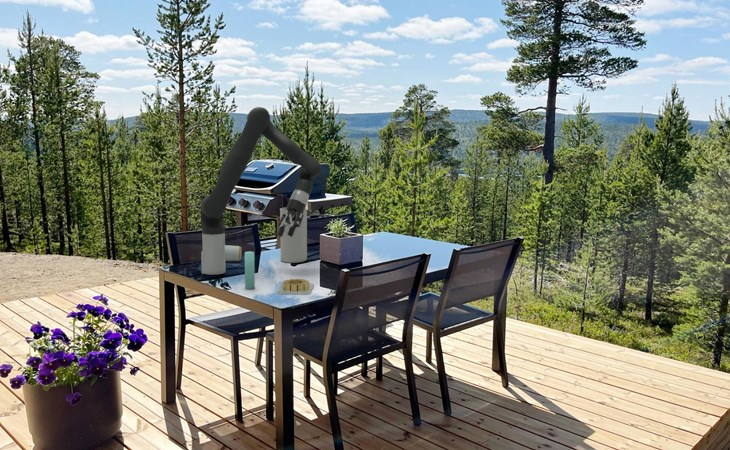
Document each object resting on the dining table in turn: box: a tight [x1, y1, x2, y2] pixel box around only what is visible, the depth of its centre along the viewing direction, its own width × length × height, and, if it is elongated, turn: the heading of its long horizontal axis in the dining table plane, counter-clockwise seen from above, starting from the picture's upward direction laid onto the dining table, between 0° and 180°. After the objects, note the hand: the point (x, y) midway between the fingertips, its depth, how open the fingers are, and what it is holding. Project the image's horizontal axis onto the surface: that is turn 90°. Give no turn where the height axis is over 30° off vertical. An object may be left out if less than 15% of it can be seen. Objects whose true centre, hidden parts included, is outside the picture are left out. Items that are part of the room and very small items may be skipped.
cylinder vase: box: [279, 206, 308, 264], centre depth 259 cm, size 12×12×25 cm
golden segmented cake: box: [276, 278, 315, 296], centre depth 208 cm, size 12×13×3 cm
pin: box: [244, 251, 256, 290], centre depth 209 cm, size 4×4×14 cm
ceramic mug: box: [225, 244, 243, 262], centre depth 259 cm, size 11×8×8 cm
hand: (284, 236), depth 232 cm, fingers open, 8 cm apart
